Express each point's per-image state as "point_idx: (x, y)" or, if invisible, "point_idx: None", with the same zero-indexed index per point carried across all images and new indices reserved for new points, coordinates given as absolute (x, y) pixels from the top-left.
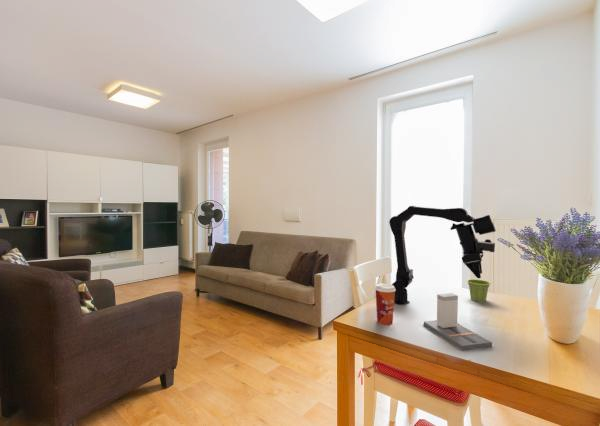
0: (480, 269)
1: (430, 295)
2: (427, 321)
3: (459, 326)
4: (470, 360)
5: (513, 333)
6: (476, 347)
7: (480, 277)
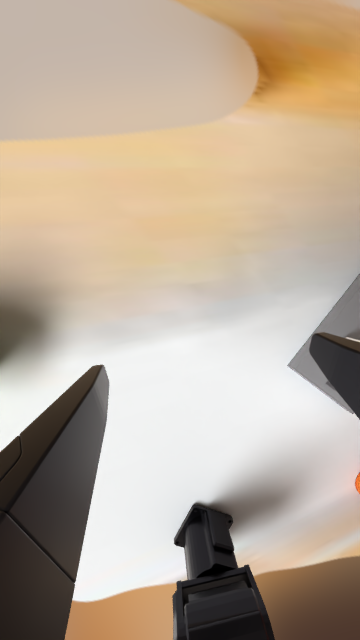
0: (95, 395)
1: None
2: (346, 407)
3: (335, 333)
4: None
5: (259, 205)
6: None
7: (326, 333)
